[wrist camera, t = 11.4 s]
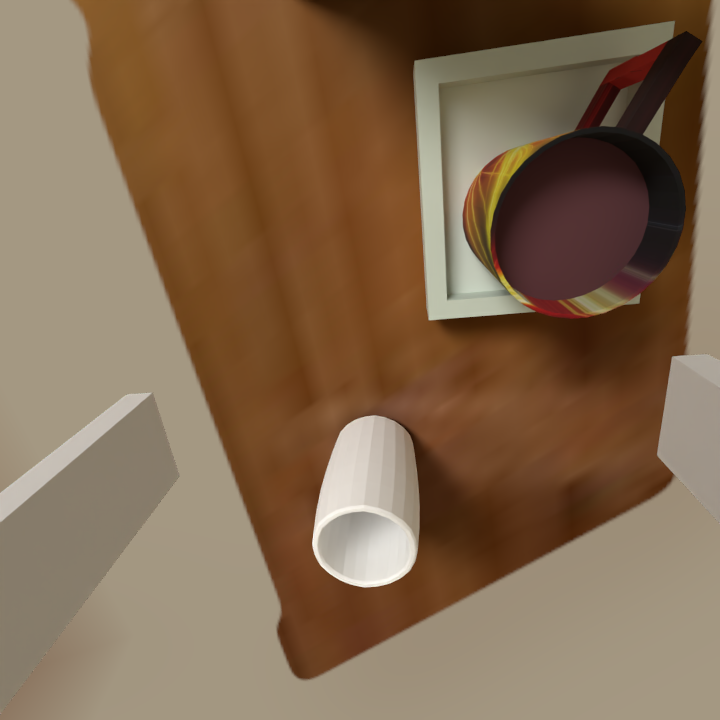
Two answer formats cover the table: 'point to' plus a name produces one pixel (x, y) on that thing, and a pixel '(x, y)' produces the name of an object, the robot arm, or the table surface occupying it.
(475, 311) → the tray
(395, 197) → the table surface
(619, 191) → the mug
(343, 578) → the cup
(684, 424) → the robot arm
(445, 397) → the table surface
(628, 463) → the table surface
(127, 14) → the table surface
